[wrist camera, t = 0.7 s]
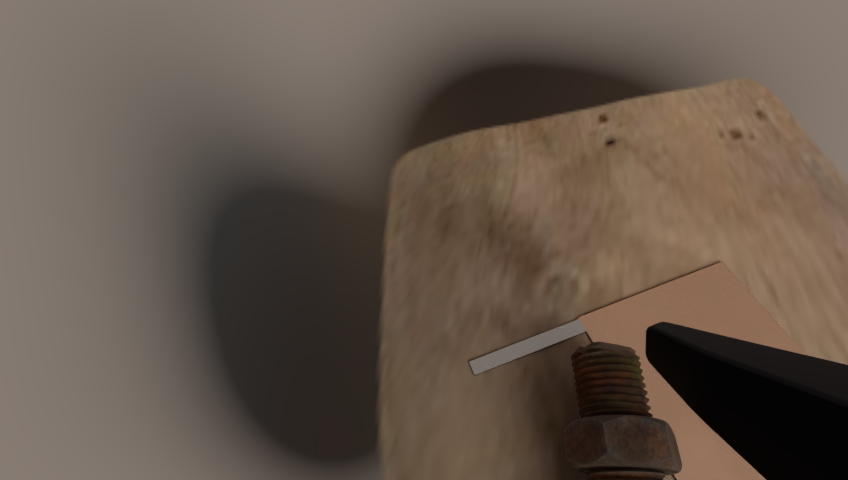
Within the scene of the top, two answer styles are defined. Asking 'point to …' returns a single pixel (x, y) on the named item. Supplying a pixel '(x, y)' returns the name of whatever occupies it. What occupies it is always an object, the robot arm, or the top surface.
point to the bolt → (616, 419)
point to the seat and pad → (626, 325)
